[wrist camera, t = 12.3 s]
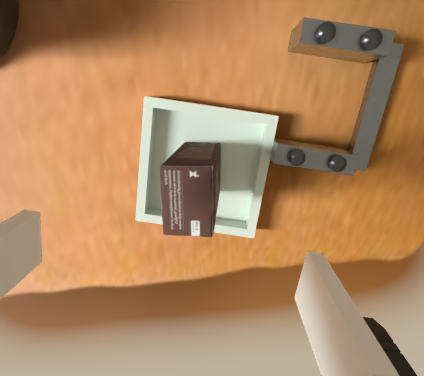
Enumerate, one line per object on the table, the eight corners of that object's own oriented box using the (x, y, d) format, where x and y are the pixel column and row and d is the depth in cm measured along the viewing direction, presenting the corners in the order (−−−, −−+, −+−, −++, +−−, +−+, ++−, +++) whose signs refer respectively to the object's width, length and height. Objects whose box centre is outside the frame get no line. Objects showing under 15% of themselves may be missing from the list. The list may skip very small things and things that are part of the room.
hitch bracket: (266, 154, 34) (274, 165, 28) (291, 30, 30) (305, 15, 25) (360, 168, 34) (386, 181, 28) (397, 46, 30) (435, 34, 25)
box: (181, 141, 33) (157, 163, 22) (221, 141, 33) (218, 164, 22) (182, 192, 35) (161, 237, 23) (220, 192, 35) (217, 238, 23)
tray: (141, 212, 37) (135, 220, 34) (150, 96, 32) (144, 96, 30) (251, 228, 37) (253, 238, 34) (274, 114, 32) (278, 116, 30)
